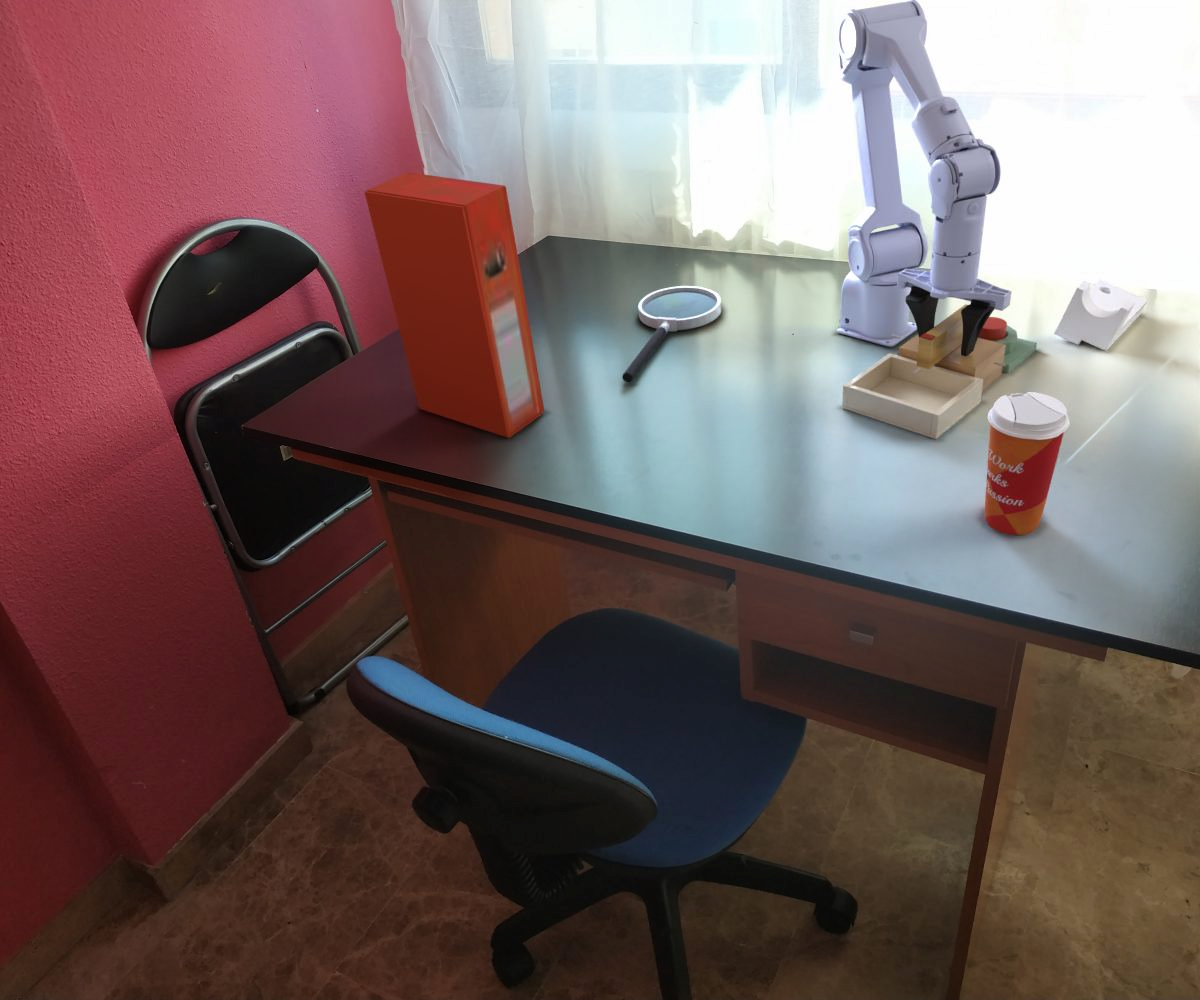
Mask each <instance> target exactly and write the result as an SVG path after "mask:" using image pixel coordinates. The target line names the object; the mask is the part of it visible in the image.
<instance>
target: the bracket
mask: <svg viewBox="0 0 1200 1000" xmlns="http://www.w3.org/2000/svg"><path fill="white" fill-rule="evenodd" d="M1091 285H1092V283H1090V282H1088V281H1086V280H1084V281H1083V282H1081V284H1079V285H1078V286H1077V287H1076V289H1075V291H1074V293H1073V295H1072V297H1071V299H1070V301H1069V303H1068V305H1067V307H1066V309H1065V311H1064V314H1063V315H1062V317H1061V319H1060V321H1059V323H1058V325H1057V327H1056V329H1055V332H1054V333H1053V334H1054V335H1055V336H1058V337H1060V338H1062V339H1064V340H1066V341H1068V342H1071V343H1073V344H1075V345H1076V346H1077V345H1078V346H1079V345H1080V344H1081V343H1082V342H1085V343H1087V344H1090V345H1092V346H1094V347H1096V348H1098V349H1100V350H1103V351H1108V350H1109V348H1110V347H1111V346H1112V345H1113V344H1114V343H1115V342H1116V341H1117V340H1118V339H1119V337H1121V335H1122V334H1124V333H1125V331H1126V330H1127V329H1128V328H1129V327H1130V326H1131V325H1132V324H1133V323H1134V322H1135V320H1137V319H1138V317H1139V316H1140V315H1141V313H1142V311H1143V310H1144V308H1145V306H1146V305H1147V302H1148V301H1149V300H1148V298H1147V299H1146V298H1144V297H1143V296H1140V295H1137V294H1135V293H1134V292H1131V291H1128V290H1126V289H1123V288H1122V287H1119V286H1117V285H1115V284H1113V283H1110V282H1107V281H1106V280H1103V279H1101V278H1100V279H1098V280H1097V282H1095V283H1094V284H1093V285H1092V286H1091Z"/></svg>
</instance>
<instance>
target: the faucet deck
mask: <svg viewBox="0 0 1200 1000" xmlns="http://www.w3.org/2000/svg"><path fill="white" fill-rule="evenodd" d="M891 336H892V337H896V338H902V337H901V336H897V335H894V334H892V335H891ZM918 343H919V335H918V333H917V334H916V335H915V336H913V337H911V338H910V339H908V340H907V341H906V342H905V343H904V344H902V345H900V346H899V347H898V356H902V357H905V358H909V359H912V360H916V361H917V355H918ZM961 345H962V344H961ZM961 345H960V346H959V347H957V348H956V349H955V350H953V351H952V352H951V353H950V354H948V355H947V356H946V357H944V358H943V359H942V360H940V361H939V362H938V363H936V364H935V365H934V366H937V367H941V368H944V369H948V370H951V371H955V372H959V373H962V374H966V375H969V376H973V377H976V378H980V379H983V386H982V391H983V390H984V389H986V388H987V387H989V386H990V385H991V384H993V382H995V381H996V380H997V379H998V378H999V377H1001V376H1002V374H1003V371H1002V368H1003V366H1005V364H1003V361H1004V354H1005V346H1006V345H1005V344H1001V343H997V342H993V341H989V340H985V339H981V338H978V339H977V342H976V344H975V347H974V351H973V352H971V353H970V354H969V355H968V356H963V355H961ZM920 370H921V369H917V370H916V371H915V372H913V373H912V374H914V375H915V374H917V373H918V372H919V371H920Z"/></svg>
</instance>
